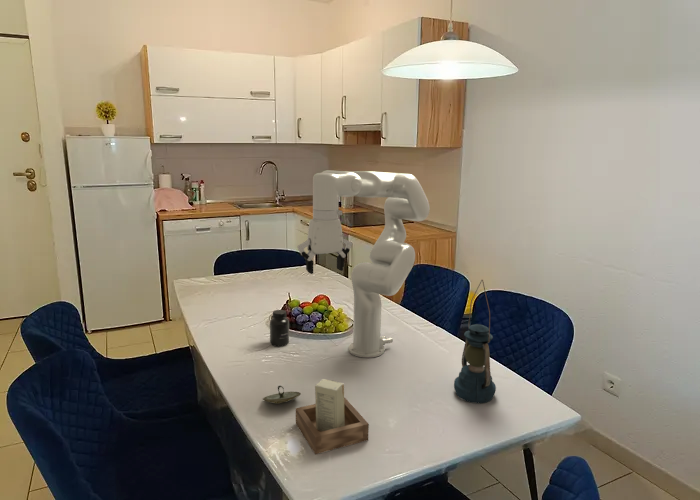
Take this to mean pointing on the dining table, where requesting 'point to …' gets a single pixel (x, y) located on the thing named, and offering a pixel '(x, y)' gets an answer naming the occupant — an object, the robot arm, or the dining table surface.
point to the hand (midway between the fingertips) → (325, 271)
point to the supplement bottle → (279, 329)
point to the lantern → (476, 365)
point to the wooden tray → (332, 438)
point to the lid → (281, 396)
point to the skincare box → (329, 405)
